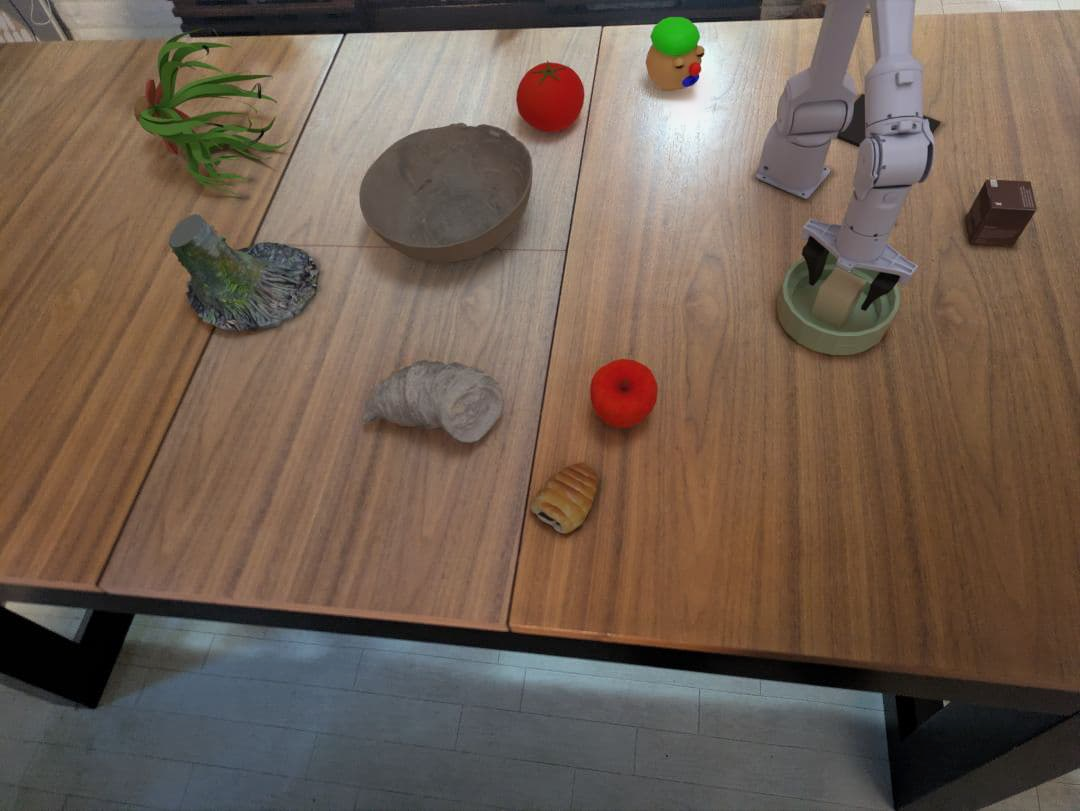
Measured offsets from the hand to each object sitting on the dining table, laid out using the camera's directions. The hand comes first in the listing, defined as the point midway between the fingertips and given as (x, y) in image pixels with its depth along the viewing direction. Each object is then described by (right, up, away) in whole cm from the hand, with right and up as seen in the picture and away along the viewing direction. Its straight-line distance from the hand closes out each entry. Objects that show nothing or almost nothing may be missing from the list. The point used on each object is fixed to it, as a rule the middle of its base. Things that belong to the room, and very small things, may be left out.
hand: (840, 292), depth 97 cm
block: (0, -2, +4) cm, 4 cm away
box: (+26, +11, +9) cm, 30 cm away
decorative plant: (-101, +32, +37) cm, 112 cm away
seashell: (-55, -17, +2) cm, 58 cm away
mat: (+17, +31, +22) cm, 42 cm away
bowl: (-55, +15, +21) cm, 61 cm away
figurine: (-16, +43, +34) cm, 57 cm away
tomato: (-39, +36, +32) cm, 62 cm away
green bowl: (0, -2, +4) cm, 5 cm away
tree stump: (-87, +3, +18) cm, 89 cm away
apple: (-30, -17, -1) cm, 34 cm away
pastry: (-38, -28, -7) cm, 48 cm away
